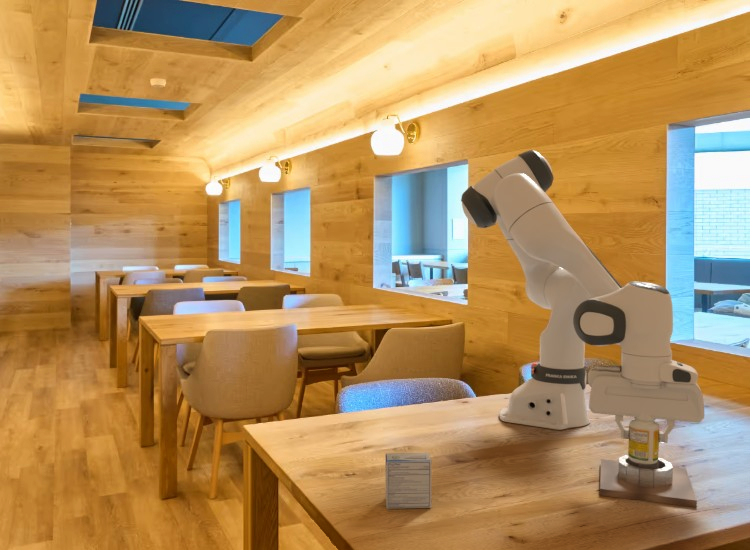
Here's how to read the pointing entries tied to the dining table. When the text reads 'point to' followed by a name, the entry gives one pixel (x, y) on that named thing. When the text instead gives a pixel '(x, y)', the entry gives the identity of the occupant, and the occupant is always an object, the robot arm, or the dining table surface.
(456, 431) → the dining table surface
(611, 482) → the holder board
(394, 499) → the medicine box
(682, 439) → the dining table surface
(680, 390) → the robot arm
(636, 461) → the supplement bottle
